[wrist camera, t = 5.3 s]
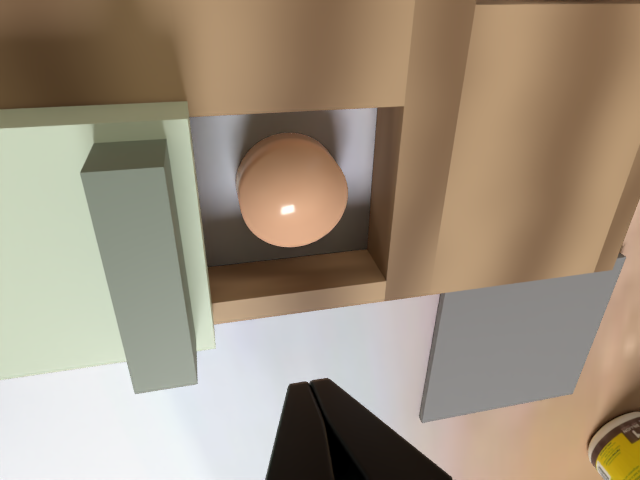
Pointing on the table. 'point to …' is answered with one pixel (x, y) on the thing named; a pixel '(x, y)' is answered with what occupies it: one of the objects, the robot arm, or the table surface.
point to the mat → (513, 342)
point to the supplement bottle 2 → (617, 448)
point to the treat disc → (290, 190)
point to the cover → (102, 243)
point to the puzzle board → (384, 123)
